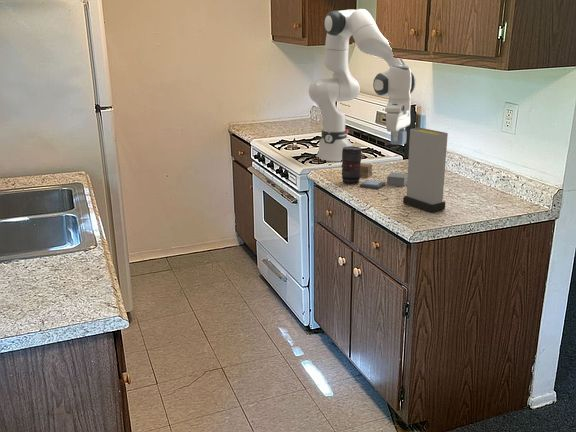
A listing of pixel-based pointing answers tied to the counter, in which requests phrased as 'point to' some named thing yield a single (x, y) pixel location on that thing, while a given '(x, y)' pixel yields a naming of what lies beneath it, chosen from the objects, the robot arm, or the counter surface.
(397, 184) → the riser block
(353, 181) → the camera lens
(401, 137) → the slate blue cube
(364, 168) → the walnut cube
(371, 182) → the tile
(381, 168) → the counter surface
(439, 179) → the container
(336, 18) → the robot arm
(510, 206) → the counter surface
